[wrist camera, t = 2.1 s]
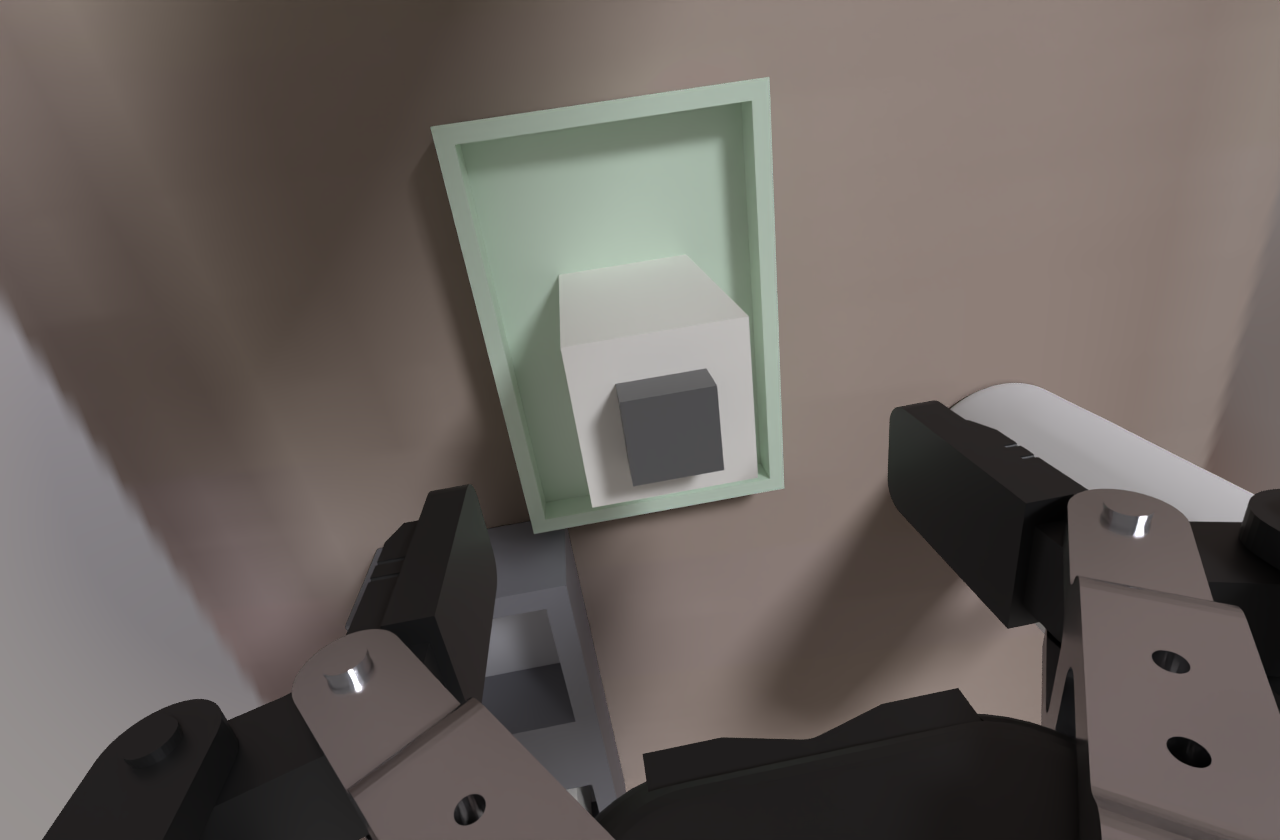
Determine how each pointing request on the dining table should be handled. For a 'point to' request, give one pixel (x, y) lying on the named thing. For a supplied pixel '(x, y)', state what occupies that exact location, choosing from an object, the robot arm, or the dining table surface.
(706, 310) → the plug
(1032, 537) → the robot arm
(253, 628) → the dining table surface
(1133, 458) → the mug
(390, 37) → the dining table surface
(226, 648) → the dining table surface
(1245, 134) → the dining table surface
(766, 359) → the tray
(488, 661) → the grey rectangular frame
